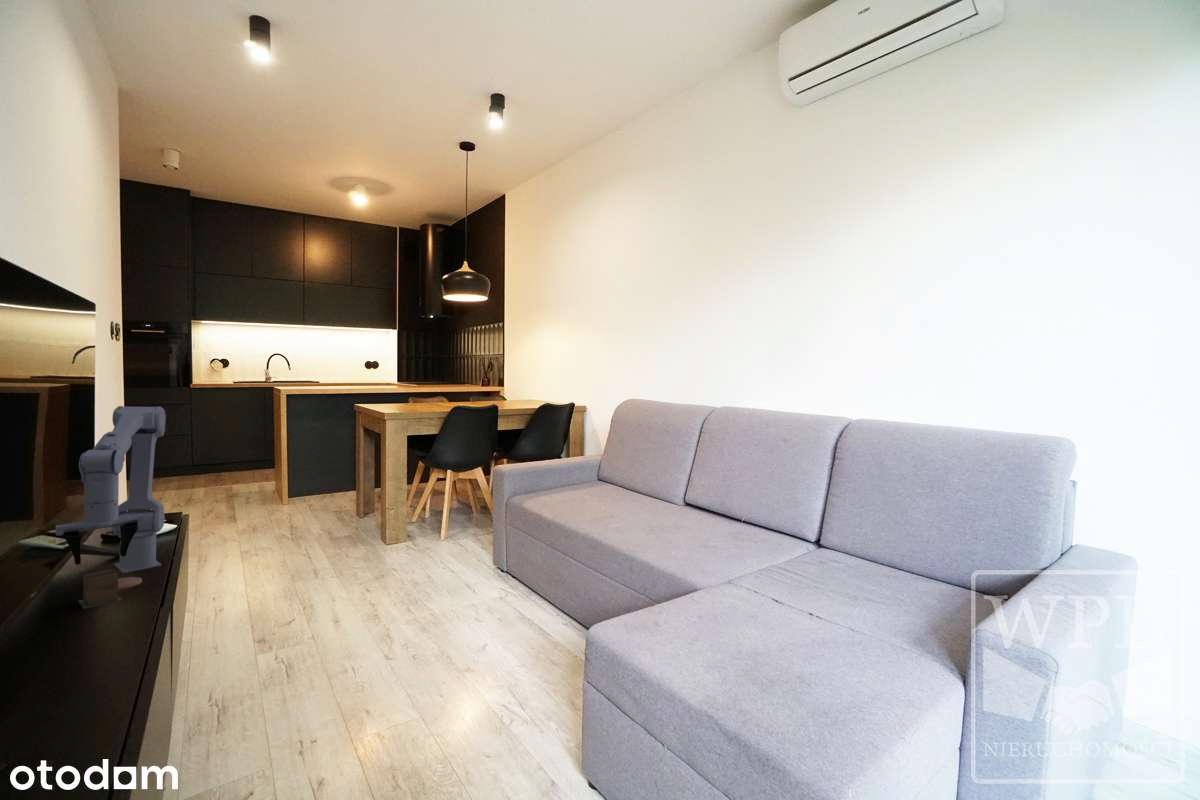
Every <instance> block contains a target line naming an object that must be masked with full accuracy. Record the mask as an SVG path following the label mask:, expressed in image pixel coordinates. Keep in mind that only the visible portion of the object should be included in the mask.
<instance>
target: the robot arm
mask: <svg viewBox="0 0 1200 800" xmlns="http://www.w3.org/2000/svg"><path fill="white" fill-rule="evenodd" d="M166 417H167V416H166V411H165V409H164V408H163V406H123V405H118V406H117V407H116V408H115V409H114V410H113V413H112V424H113V429H112V431H108V432H106V433H104V434H103V435H102V436H101V438H100V439H99V440H98V442H97V443H96V444H95V446H94V447H93V448H92V449H88V450H87V451H85V452H83V453H81V455H80V457H79V462H78V470H79V473H80V479H81V480H80V481H81V483H82V484H84V486H83V487H84V489H83V493H84V494H83V520H79V521H74V522H69V523H64V524H56V525H55V533H54V534H55V535H56V536H62V537H63V539H65V542H66V543H67V544H68V547H69V548H70V551H71V553H72V556H73V560H74V564H75V565H76V566H79V565H81V564H82V557H81V542H82V541H81V539H82V536H81V534H80V532H86V531H88V532H89V531H93V530H100V529H106V528H107V529H108V528H111V529H112V532H113V533H114V534H115V535H117V536H118V537H117V538H120V540H119V541H120V542H119V562H116V563H114V566H115V567H116V568H117V569H118V570H119V571H120V572H121V574H127V573H131V572H136V571H142V570H147V569H153V568H155V567H157V568H158V567H161V566H162V563H160V562H159V561H158V560H157V533H160V532H161V530H162V529H164V524H165V521H166V520H165V517H166V516H165V509H164V508H165V507H164V504H163V503H162V502H160V500H157V499H155V498H153V496H152V495H153V494H152V493H153V480H154V465H155V451H156V443H157V439H158V438H162V437H164V435H165V432H166ZM131 447H132V448H131ZM130 448H131V449H132V450H131V459H130V460H131V461H130V472H129V473H130V474H129V475H130V476H129V488H128V499H127V500H125V501H124V502H122V503H120V504H119V486H120V485H119V484H120V483H119V482H120V481H119V479H120V478H119V476H120V475H119V474H120V473H121V472H122V471H123V469H124V463H125V460H126V456H125V455H126V454H127V453H128V451H129V450H130ZM144 508H150V509H151V510H138V511H128V510H129V509H144Z"/></svg>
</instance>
